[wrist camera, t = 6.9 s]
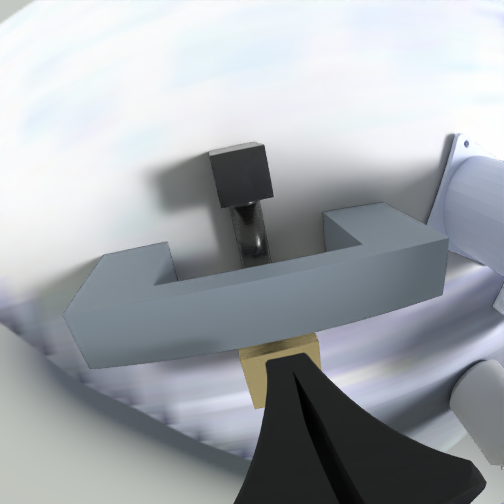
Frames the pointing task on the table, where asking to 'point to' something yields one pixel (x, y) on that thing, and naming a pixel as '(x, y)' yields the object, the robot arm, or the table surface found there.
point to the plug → (254, 248)
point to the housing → (255, 292)
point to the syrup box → (500, 301)
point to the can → (482, 407)
